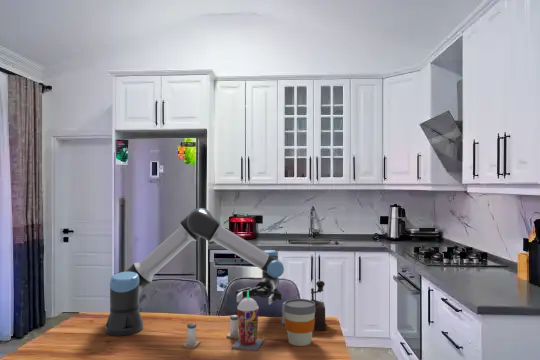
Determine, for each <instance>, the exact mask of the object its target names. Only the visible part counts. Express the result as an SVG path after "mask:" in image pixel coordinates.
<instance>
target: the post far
mask: <svg viewBox="0 0 540 360" xmlns="http://www.w3.org/2000/svg"><path fill="white" fill-rule="evenodd" d="M229 317H230V318H229V320H230V323H229V324H230V330H229V332H228V334H226V338H227V339H236V340H238V338H239V328H238V314H231V315H230V316H229Z"/></svg>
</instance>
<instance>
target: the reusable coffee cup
mask: <svg viewBox="0 0 540 360" xmlns="http://www.w3.org/2000/svg"><path fill="white" fill-rule="evenodd" d="M284 302H285V304H284V311H285V324H284V325H285V330H286V331H287V332H286V333H287V339H288V340H287V341H288V343H289V344H290V345H292V346H298V347H300V346H301V347H302V346H308V345H310V344H312V341H313V340H312V339H313V338H312V337H313V331H315V330H314V324H315V317H314V315H315V311H316V308H315V302H313V301H311V299H306V298H305V299H304V298H291V299H288V300H285V301H284Z"/></svg>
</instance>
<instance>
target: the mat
mask: <svg viewBox="0 0 540 360" xmlns="http://www.w3.org/2000/svg"><path fill="white" fill-rule="evenodd" d="M264 340H265V339H264V338H257V340H256V341H255V344H253V345H243V344H241V342H240V340H239V338H238V339H236V341H235V342H234V343H233V344H232V346H231V349H235V350H247V351H259V349H260V348H261V346H262V344H263V342H264Z"/></svg>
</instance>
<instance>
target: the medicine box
mask: <svg viewBox="0 0 540 360" xmlns="http://www.w3.org/2000/svg"><path fill="white" fill-rule="evenodd" d="M285 302H286V301H283V302H282V304H281V317H282V318H281V320H282V321H281V324H282V325H285V311H284V304H285Z"/></svg>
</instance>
